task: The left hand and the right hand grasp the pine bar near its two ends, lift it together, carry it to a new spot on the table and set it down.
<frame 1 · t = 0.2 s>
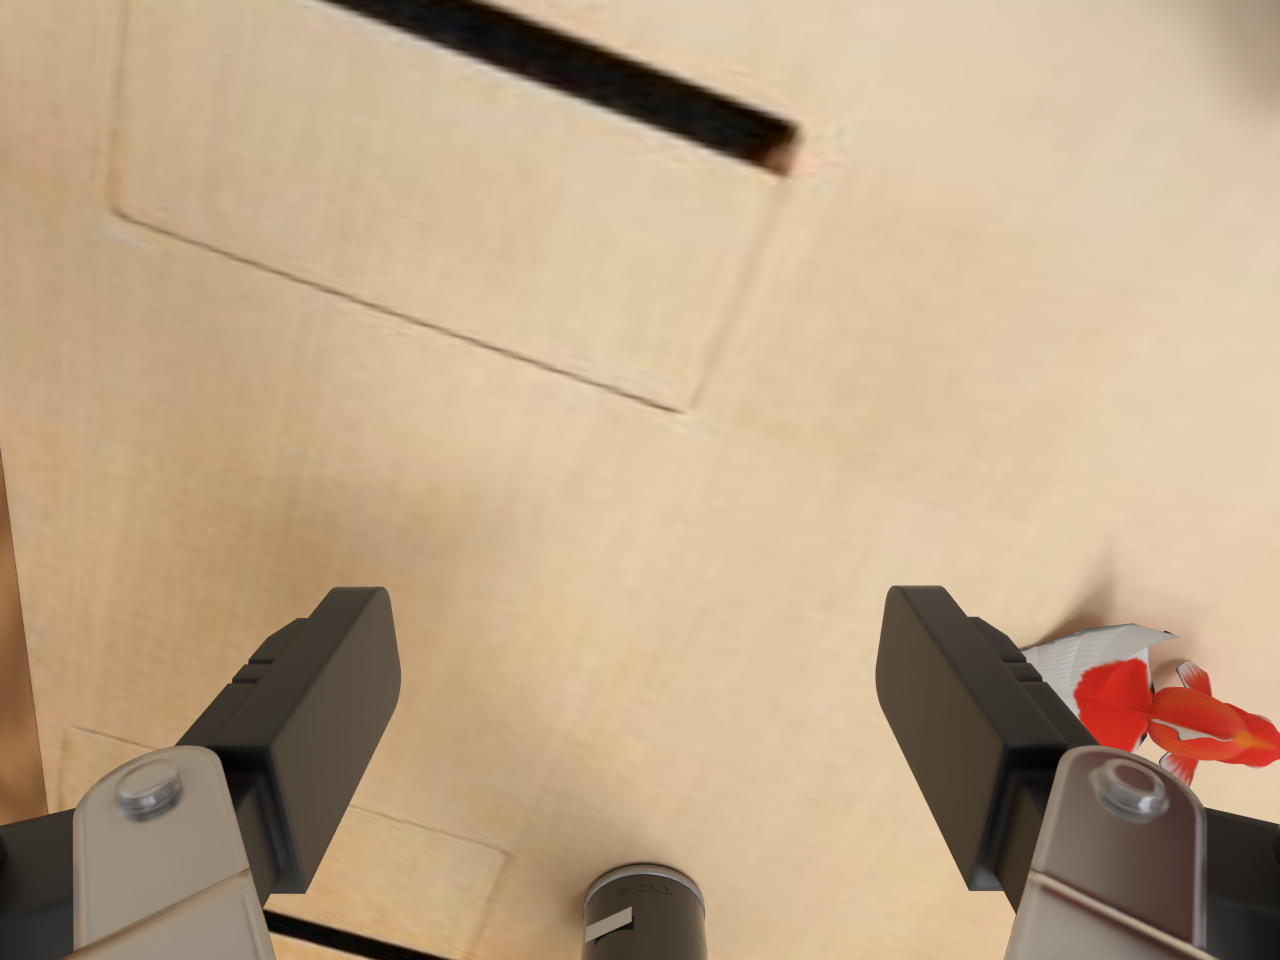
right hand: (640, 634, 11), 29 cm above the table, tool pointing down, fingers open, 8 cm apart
fish: (1092, 673, 47), on the table
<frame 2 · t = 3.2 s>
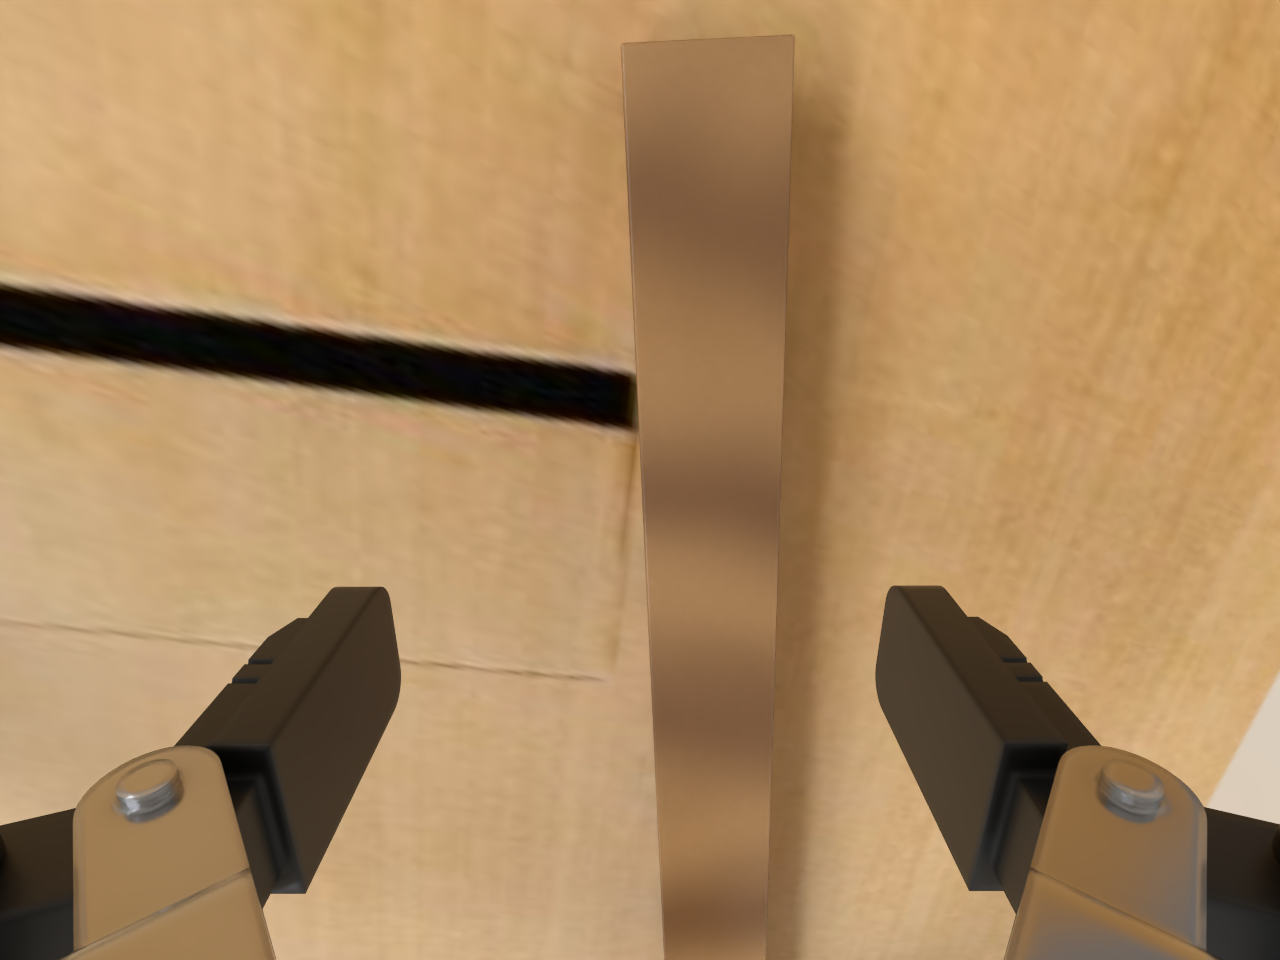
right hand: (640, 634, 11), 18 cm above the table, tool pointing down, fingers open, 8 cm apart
bar: (699, 782, 37), on the table, touching left hand
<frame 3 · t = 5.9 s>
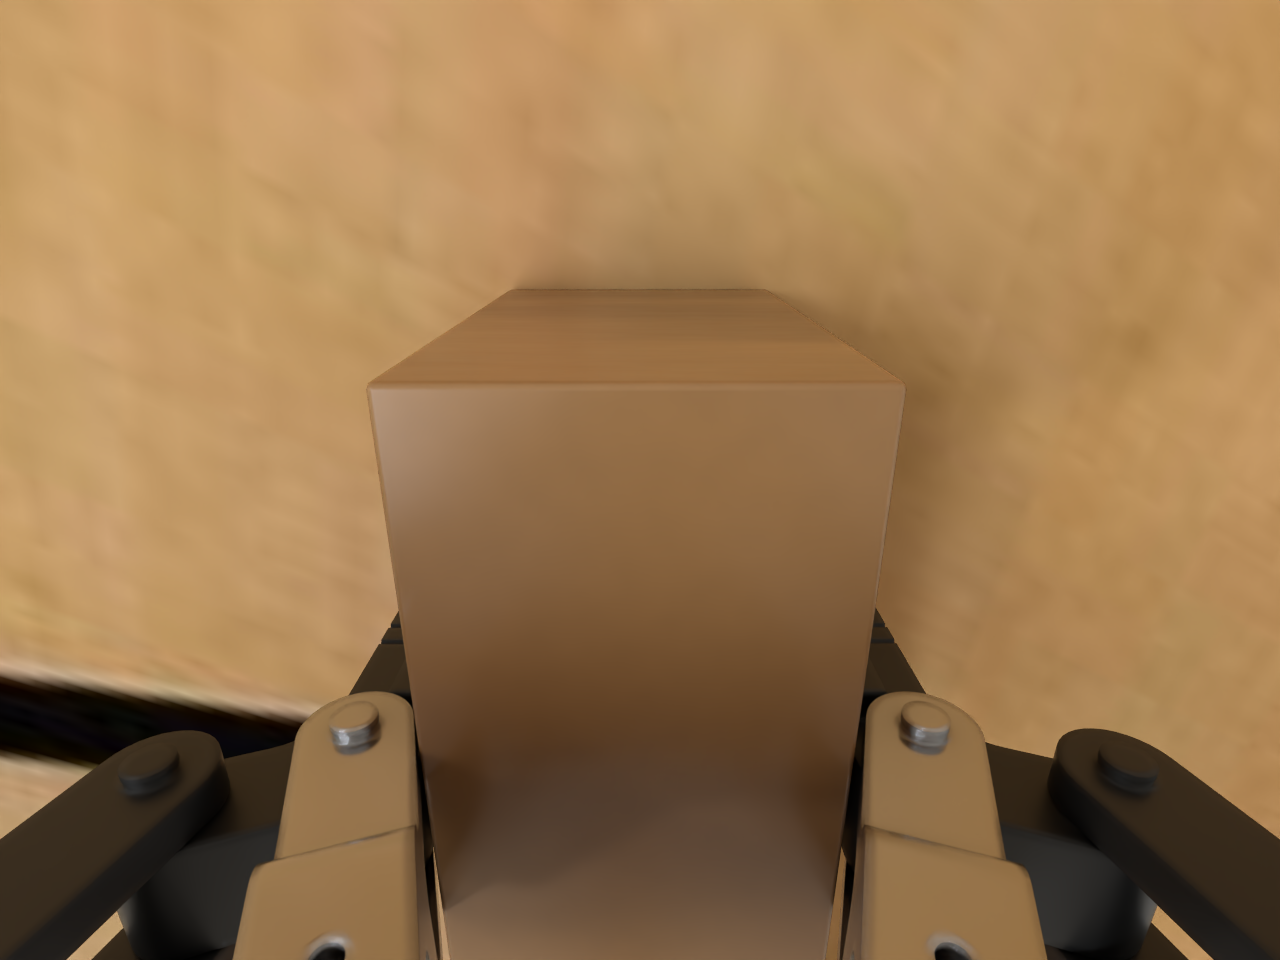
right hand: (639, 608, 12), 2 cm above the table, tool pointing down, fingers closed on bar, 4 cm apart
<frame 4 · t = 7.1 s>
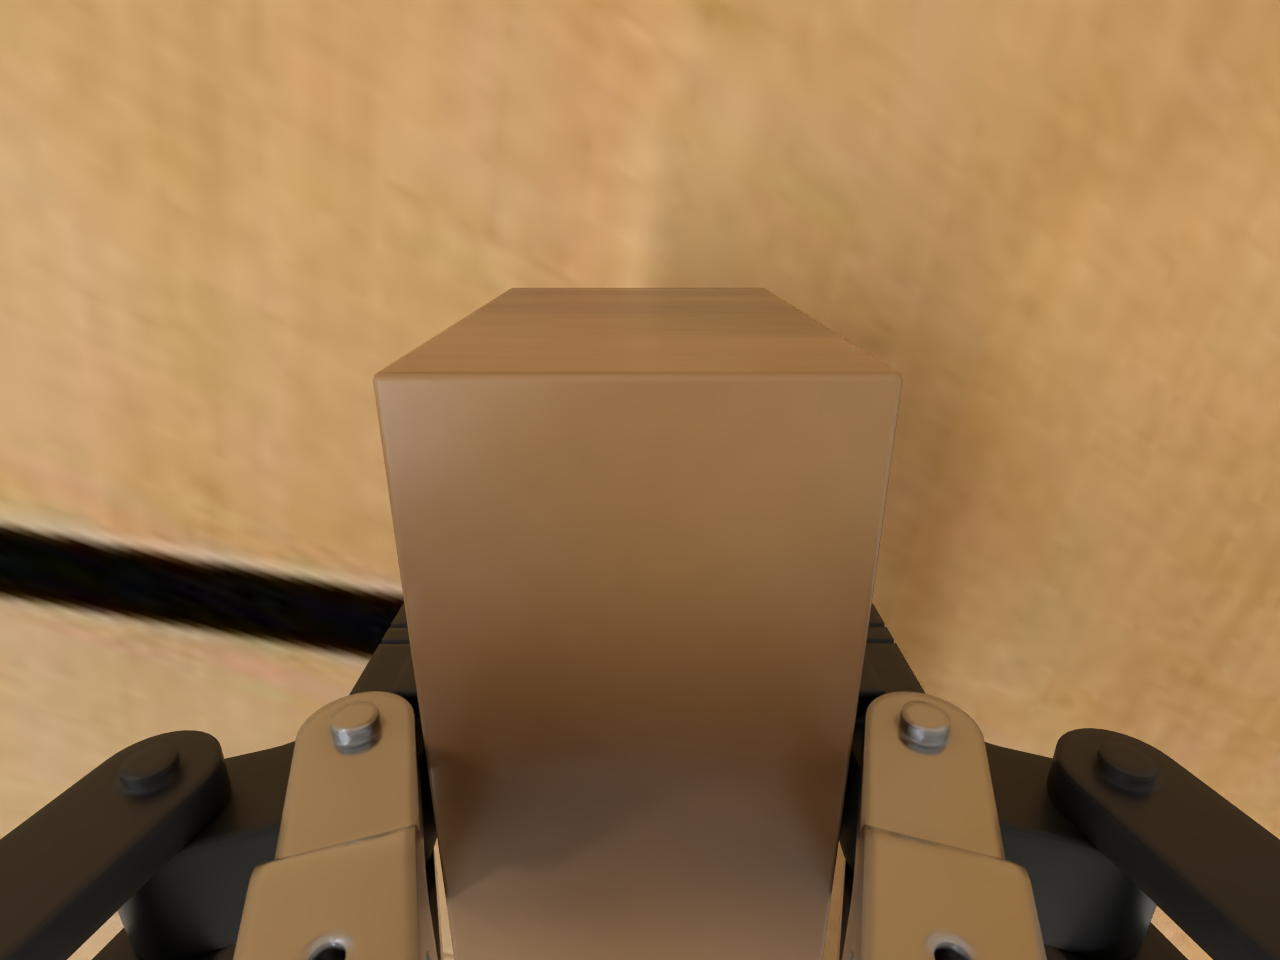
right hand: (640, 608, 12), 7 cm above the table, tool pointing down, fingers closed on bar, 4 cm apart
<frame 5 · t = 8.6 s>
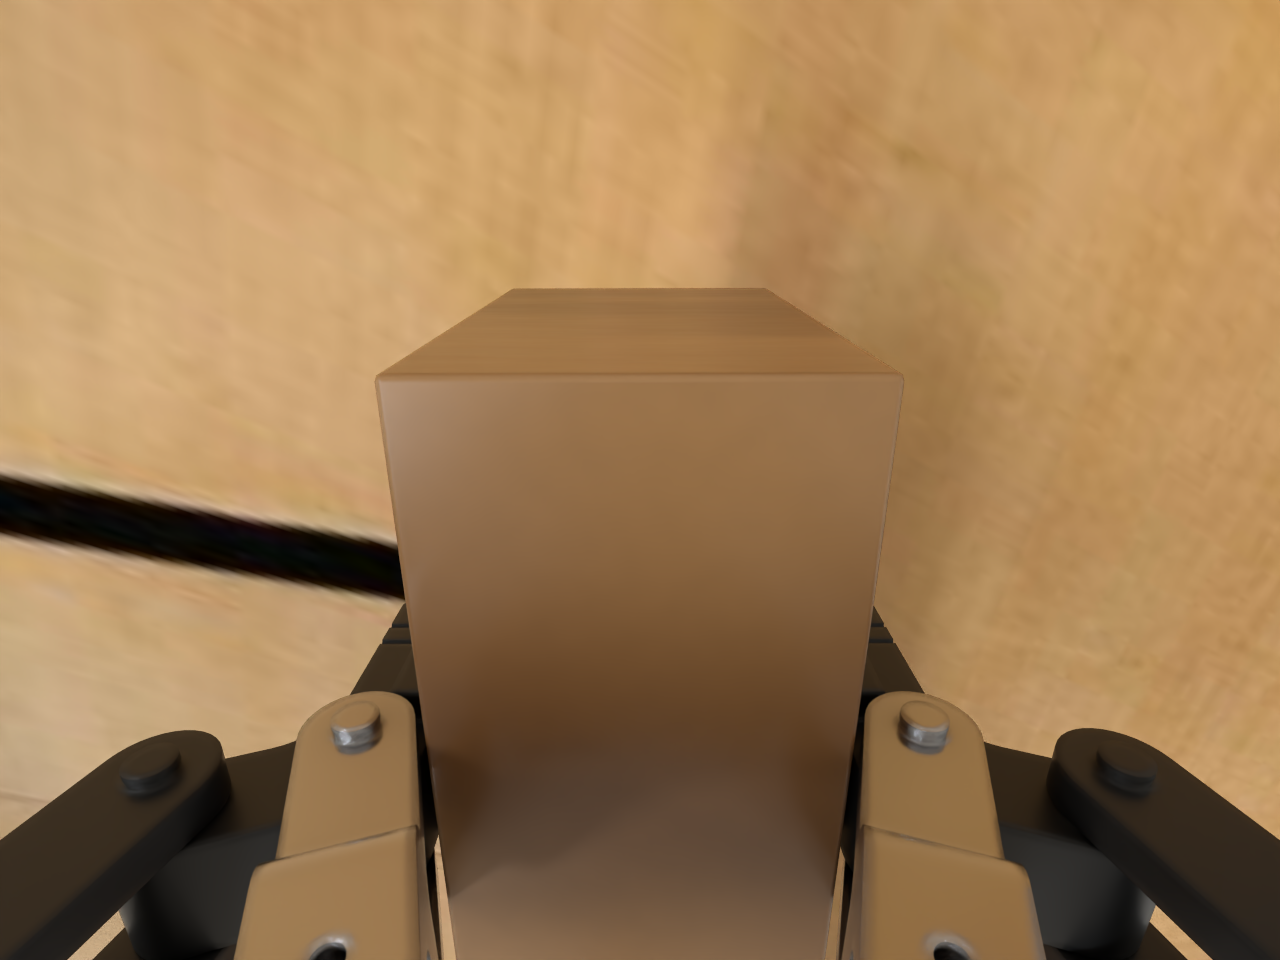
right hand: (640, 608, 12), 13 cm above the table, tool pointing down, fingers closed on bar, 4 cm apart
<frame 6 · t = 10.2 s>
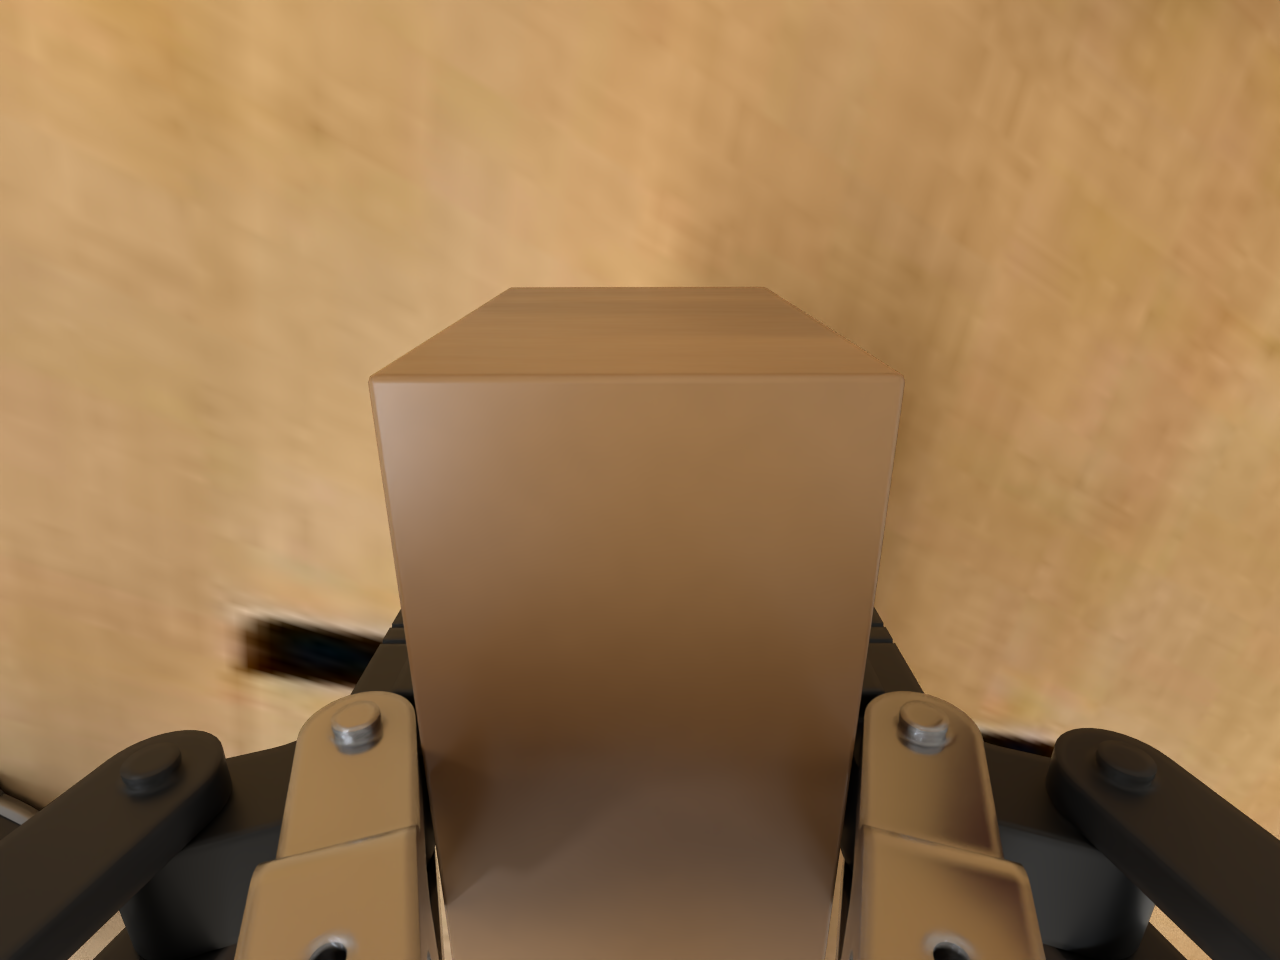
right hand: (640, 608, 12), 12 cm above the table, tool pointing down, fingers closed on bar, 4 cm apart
when the left hand's fingers open (3 cm above the table, at t = 11.5 s): bar drops 1 cm, on the table.
when the right hand's fingers open (3 cm above the table, at t = 11.5 s): bar drops 1 cm, on the table.
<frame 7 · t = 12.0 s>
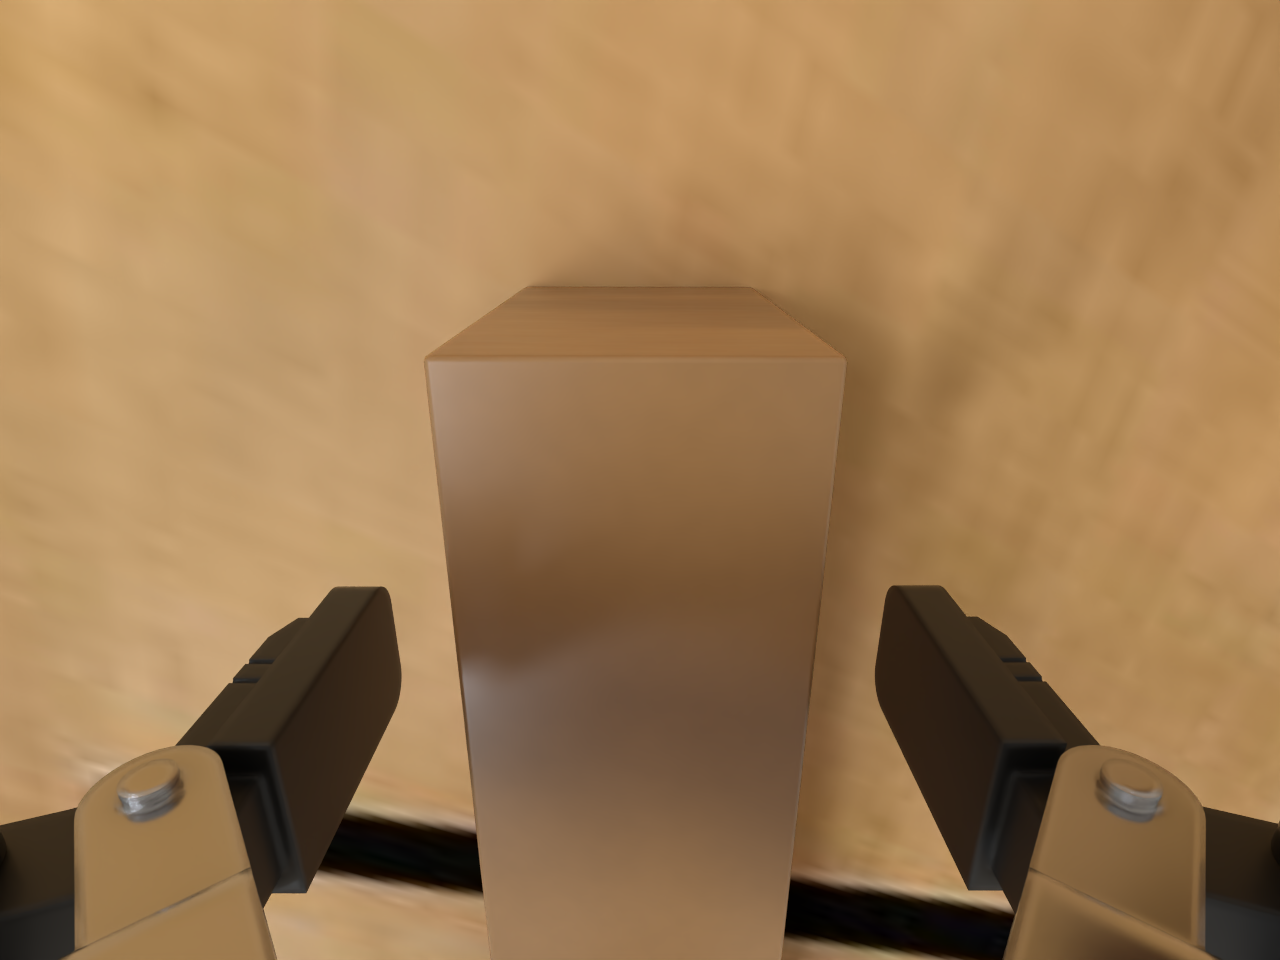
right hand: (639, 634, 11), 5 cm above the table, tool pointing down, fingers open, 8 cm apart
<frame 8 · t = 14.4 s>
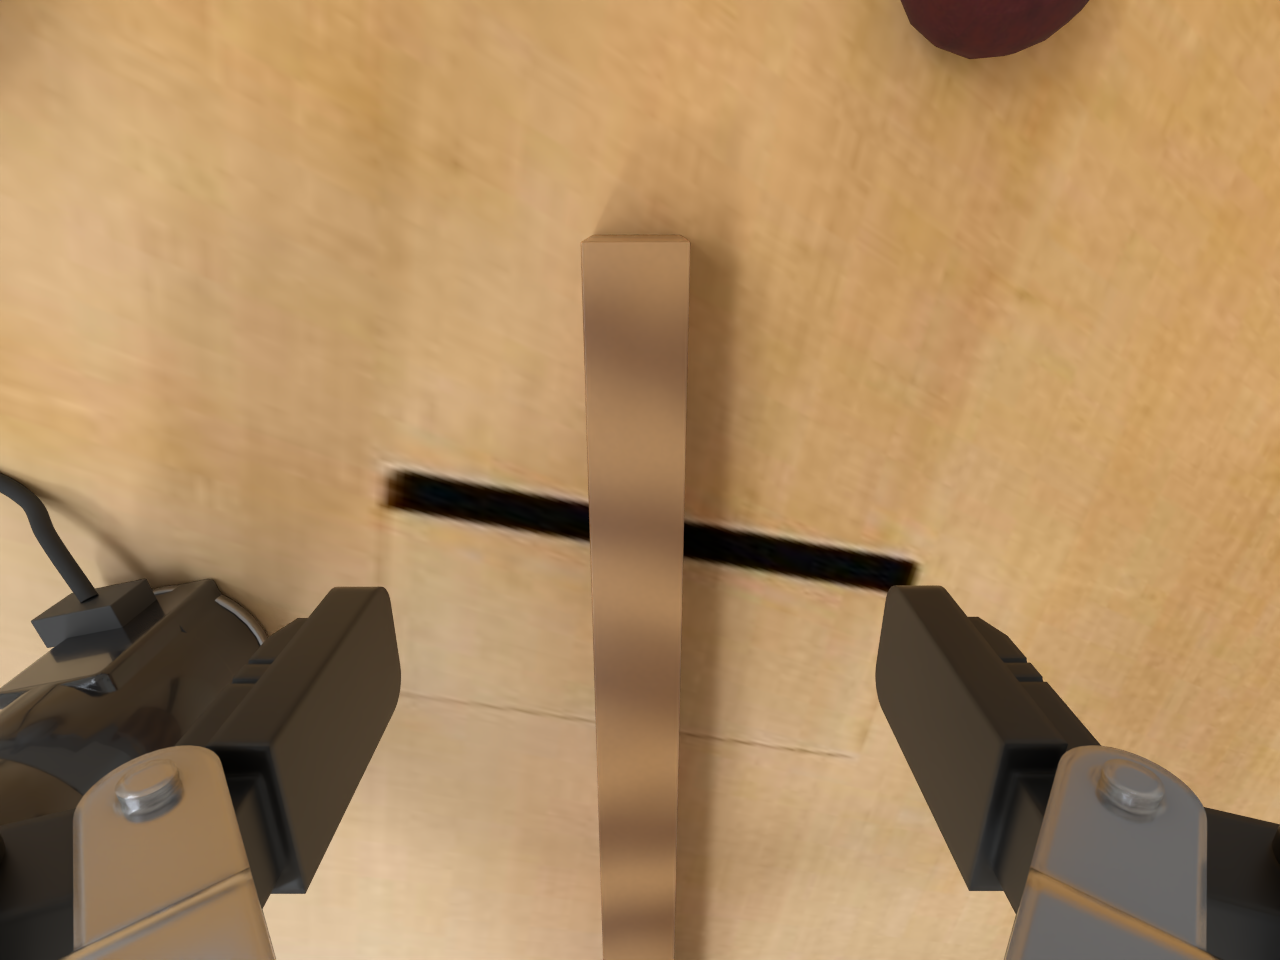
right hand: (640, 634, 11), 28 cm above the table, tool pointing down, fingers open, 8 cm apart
bar: (638, 740, 47), on the table
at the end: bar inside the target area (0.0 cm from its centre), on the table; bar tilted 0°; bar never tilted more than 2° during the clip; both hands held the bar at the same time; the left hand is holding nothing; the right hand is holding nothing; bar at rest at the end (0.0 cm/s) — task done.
